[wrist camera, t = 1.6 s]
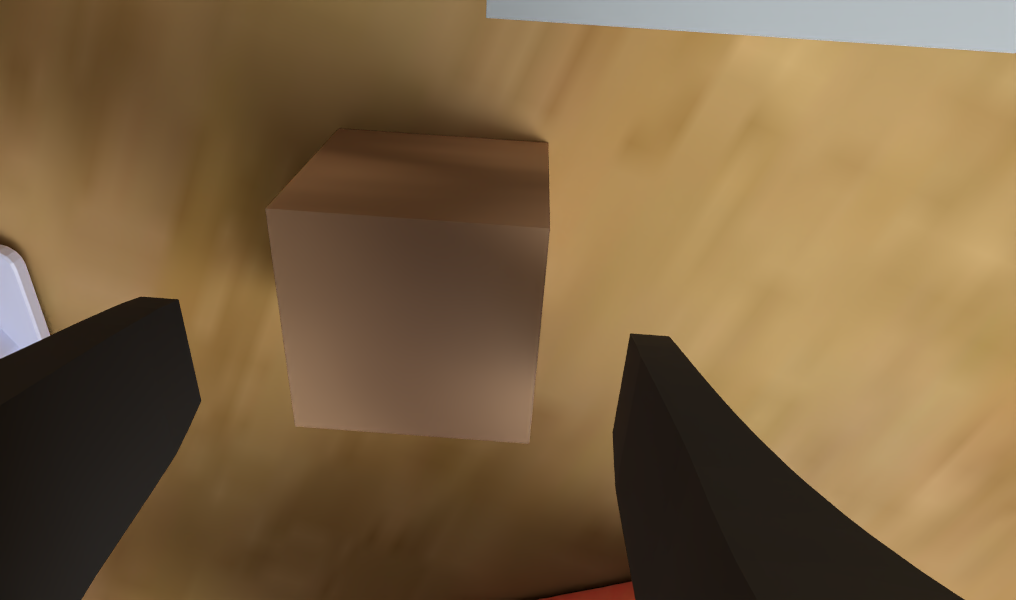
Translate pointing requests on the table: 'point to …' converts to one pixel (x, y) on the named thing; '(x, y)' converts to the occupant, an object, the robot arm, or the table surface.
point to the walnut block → (413, 283)
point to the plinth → (795, 19)
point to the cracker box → (601, 593)
